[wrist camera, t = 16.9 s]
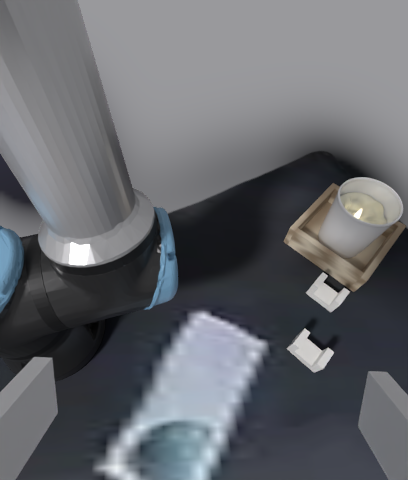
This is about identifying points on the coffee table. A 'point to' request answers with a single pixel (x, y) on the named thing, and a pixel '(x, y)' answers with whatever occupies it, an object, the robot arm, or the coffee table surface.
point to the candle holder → (359, 216)
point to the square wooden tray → (342, 269)
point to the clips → (302, 345)
